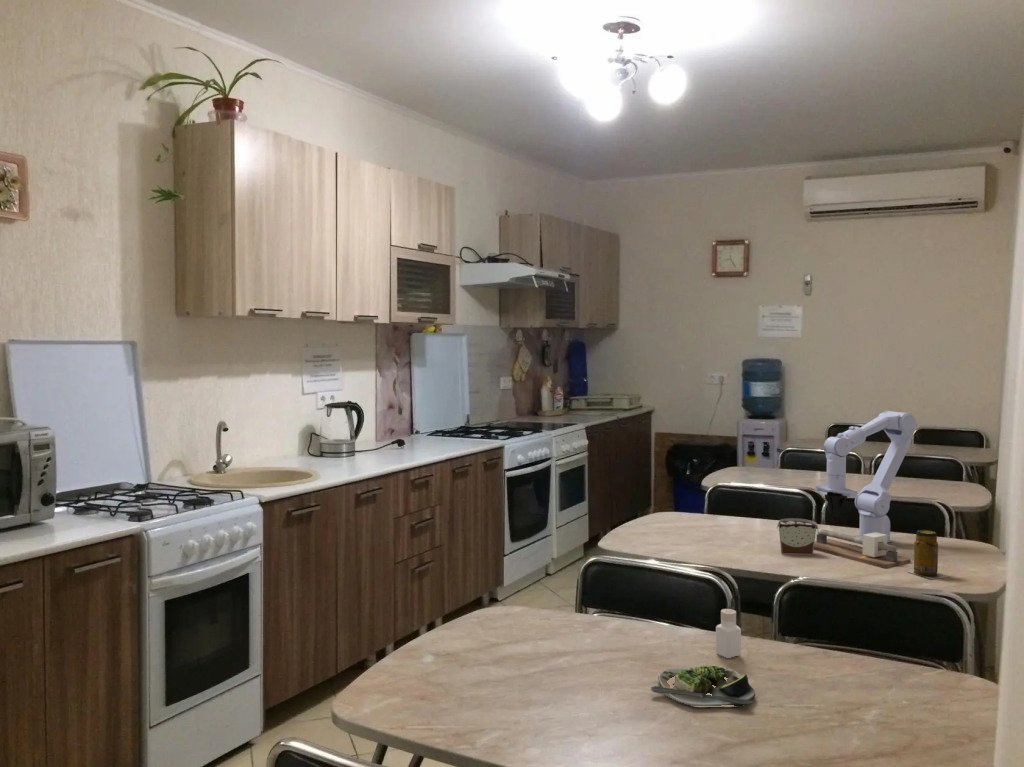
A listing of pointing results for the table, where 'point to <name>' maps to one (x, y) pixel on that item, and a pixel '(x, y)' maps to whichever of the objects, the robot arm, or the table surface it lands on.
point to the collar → (874, 544)
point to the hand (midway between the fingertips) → (835, 516)
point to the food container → (797, 536)
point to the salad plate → (706, 686)
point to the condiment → (926, 555)
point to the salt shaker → (728, 635)
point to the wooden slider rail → (856, 549)
